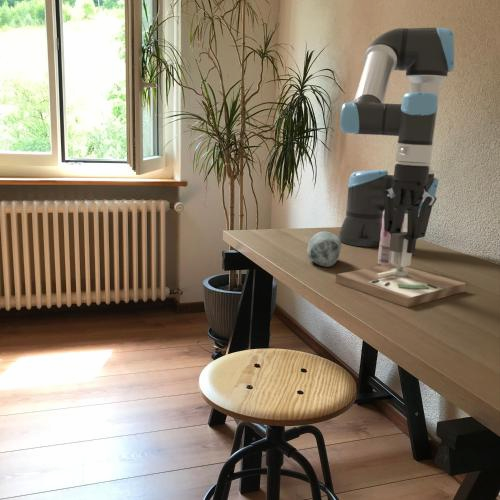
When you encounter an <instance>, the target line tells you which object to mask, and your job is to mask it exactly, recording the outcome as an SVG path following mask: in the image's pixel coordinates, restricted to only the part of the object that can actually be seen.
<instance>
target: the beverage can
mask: <svg viewBox="0 0 500 500" xmlns="http://www.w3.org/2000/svg"><path fill="white" fill-rule="evenodd" d="M405 215H406V214H405ZM405 215H404V217H405ZM404 223H405V218H404V219H403V224H402V229H401V232H404ZM390 240H391V234H390V233H389V232H387V231H385V230H384V212H383V218H382V227H381V236H380V244H379V247H378V253H377V254H378V255H377V264H378V265H379V266H383V265H388V264H392V263H390V261H391V253H392V251H390ZM396 264H397V263H396Z"/></svg>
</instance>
